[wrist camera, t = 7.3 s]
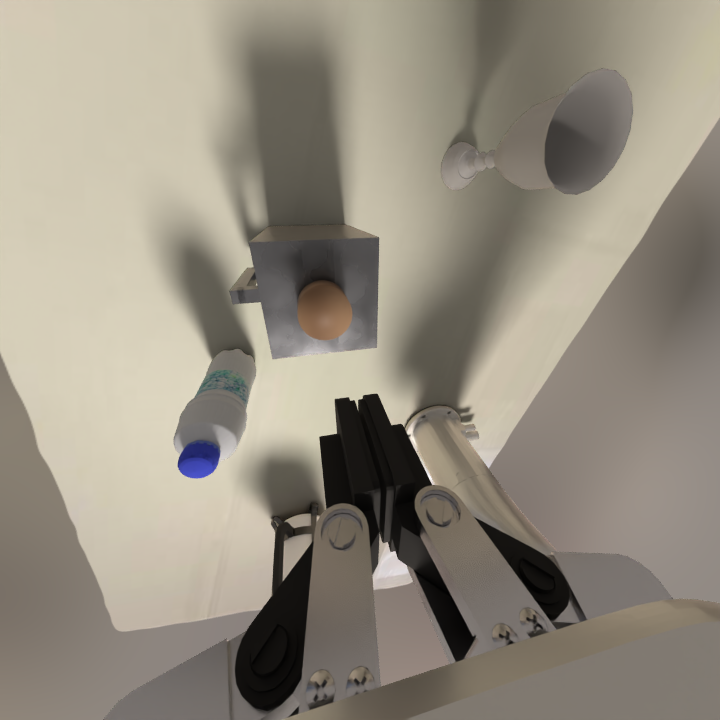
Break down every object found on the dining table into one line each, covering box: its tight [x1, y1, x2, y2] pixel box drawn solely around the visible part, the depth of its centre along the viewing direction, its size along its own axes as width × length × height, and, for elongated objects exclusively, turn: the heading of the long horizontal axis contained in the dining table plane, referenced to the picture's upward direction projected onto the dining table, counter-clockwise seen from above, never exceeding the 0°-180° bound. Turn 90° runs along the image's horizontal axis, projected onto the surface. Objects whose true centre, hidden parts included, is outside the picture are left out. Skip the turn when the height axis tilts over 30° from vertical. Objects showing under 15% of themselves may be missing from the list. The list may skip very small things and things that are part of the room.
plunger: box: [297, 280, 352, 340], centre depth 28 cm, size 7×7×19 cm
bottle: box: [174, 349, 256, 478], centre depth 33 cm, size 7×7×20 cm
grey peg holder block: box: [229, 224, 379, 359], centre depth 29 cm, size 13×10×17 cm
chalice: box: [441, 68, 633, 194], centre depth 27 cm, size 7×7×18 cm
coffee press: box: [271, 503, 320, 595], centre depth 52 cm, size 17×16×30 cm
